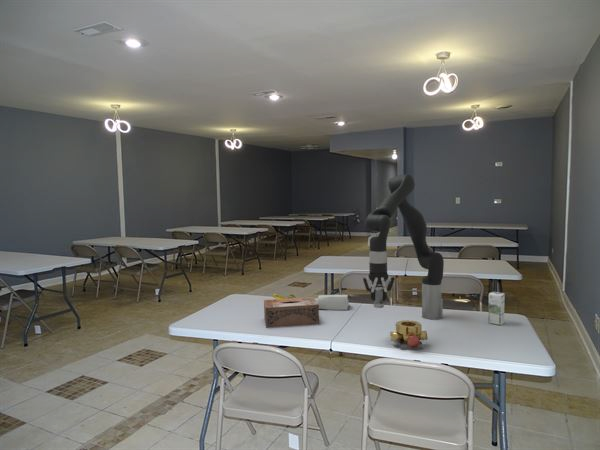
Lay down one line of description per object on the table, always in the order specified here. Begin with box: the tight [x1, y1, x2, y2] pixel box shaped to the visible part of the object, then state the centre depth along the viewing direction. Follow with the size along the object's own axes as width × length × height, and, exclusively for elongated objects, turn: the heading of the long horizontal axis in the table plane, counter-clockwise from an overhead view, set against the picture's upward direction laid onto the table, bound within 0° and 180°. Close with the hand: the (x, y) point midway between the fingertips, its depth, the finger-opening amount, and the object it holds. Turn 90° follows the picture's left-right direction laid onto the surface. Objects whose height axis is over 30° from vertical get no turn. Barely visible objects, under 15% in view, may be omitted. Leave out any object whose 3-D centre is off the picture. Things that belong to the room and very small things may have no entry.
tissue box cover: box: [263, 296, 320, 329], centre depth 205 cm, size 26×14×10 cm, turn 98°
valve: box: [389, 319, 428, 351], centre depth 169 cm, size 14×12×9 cm
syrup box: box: [487, 291, 506, 326], centre depth 195 cm, size 6×6×14 cm
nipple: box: [373, 285, 385, 309], centre depth 177 cm, size 4×4×9 cm
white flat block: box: [314, 294, 350, 311], centre depth 235 cm, size 8×23×25 cm
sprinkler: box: [272, 293, 297, 299], centre depth 235 cm, size 22×6×20 cm
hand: (378, 300), depth 177 cm, fingers closed on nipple, 4 cm apart
